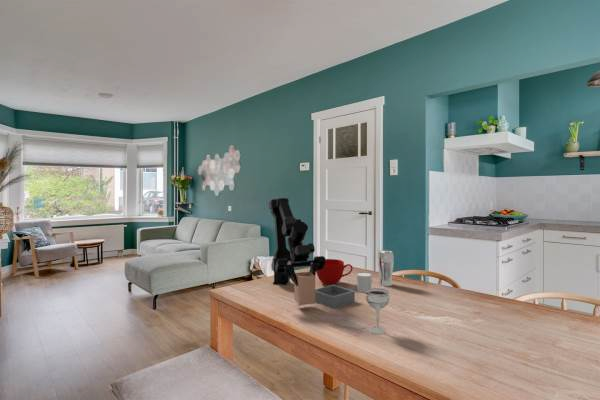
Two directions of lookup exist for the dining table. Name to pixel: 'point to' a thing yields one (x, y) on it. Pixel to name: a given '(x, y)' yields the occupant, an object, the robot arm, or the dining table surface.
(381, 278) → the beer glass
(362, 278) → the white cylindrical piece
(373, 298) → the wineglass
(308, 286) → the terracotta bin
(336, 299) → the grey square tray
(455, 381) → the dining table surface
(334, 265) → the ceramic cup
